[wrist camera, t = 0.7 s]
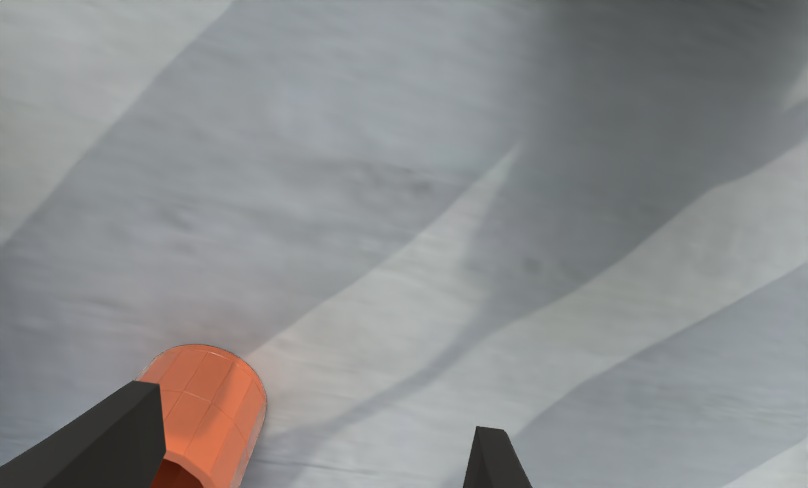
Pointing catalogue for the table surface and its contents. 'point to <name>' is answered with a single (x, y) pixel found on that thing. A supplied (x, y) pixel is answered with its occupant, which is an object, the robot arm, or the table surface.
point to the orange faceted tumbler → (206, 416)
